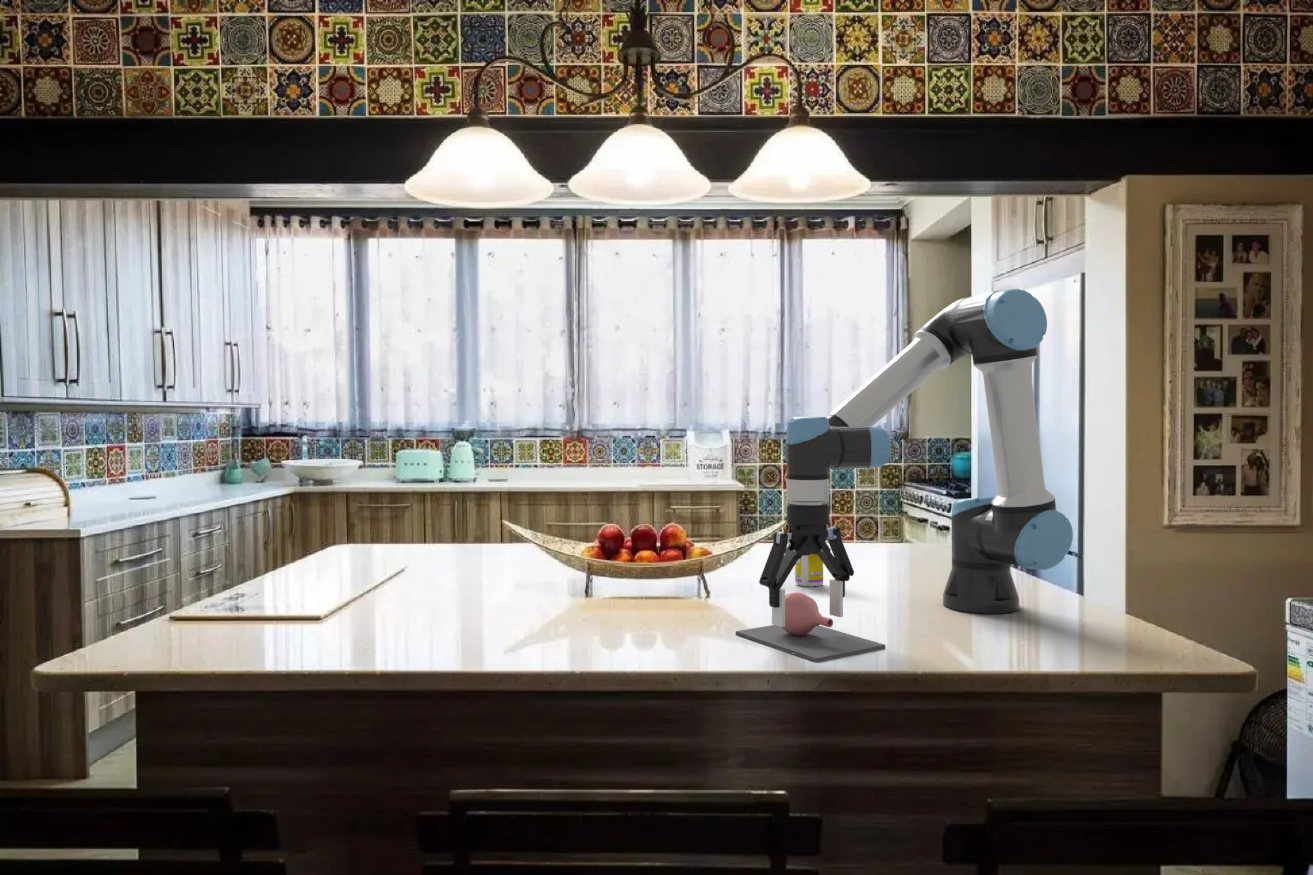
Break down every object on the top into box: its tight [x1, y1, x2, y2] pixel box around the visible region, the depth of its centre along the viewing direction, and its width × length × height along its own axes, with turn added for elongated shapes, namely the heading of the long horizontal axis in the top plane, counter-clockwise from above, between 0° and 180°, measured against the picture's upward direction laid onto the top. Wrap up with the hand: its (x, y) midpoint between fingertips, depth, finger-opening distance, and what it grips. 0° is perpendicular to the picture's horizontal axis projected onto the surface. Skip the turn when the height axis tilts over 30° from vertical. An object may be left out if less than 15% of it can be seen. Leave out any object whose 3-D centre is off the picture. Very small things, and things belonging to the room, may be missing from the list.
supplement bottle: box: [794, 554, 824, 588], centre depth 213 cm, size 7×7×13 cm
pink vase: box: [781, 592, 834, 635], centre depth 161 cm, size 8×8×12 cm
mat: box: [735, 624, 886, 663], centre depth 161 cm, size 16×22×1 cm
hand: (808, 620), depth 161 cm, fingers open, 13 cm apart
